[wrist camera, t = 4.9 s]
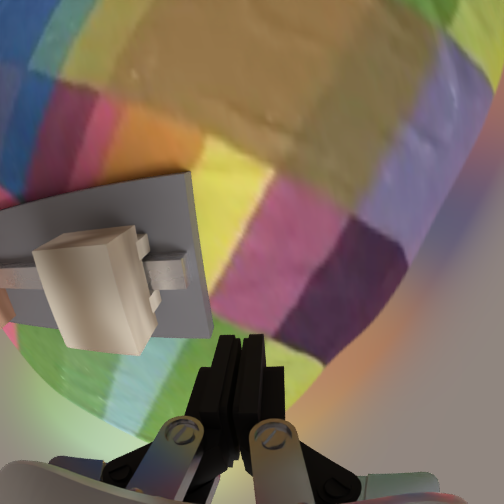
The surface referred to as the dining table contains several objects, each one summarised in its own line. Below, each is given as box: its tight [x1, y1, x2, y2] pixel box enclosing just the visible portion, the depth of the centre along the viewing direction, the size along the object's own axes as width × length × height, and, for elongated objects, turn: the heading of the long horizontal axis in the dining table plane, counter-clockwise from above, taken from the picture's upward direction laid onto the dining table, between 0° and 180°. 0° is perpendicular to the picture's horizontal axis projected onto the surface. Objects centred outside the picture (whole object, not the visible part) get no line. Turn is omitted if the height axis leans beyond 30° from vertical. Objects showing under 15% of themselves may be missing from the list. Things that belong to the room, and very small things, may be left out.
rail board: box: [0, 171, 214, 338], centre depth 19 cm, size 26×12×6 cm, turn 95°
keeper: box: [32, 225, 162, 356], centre depth 17 cm, size 6×7×5 cm
